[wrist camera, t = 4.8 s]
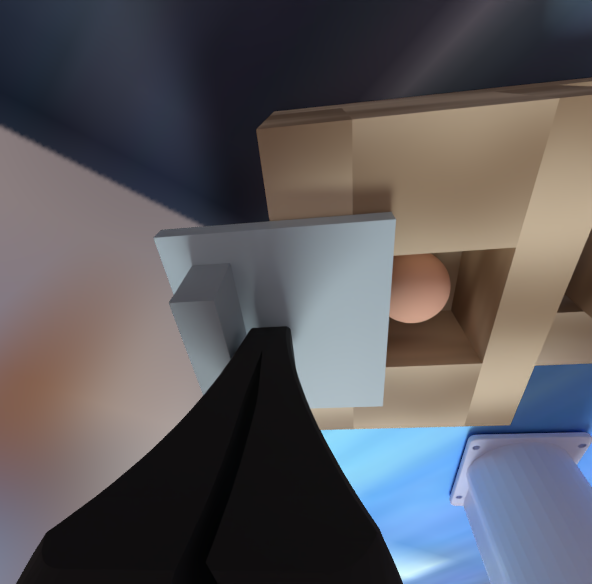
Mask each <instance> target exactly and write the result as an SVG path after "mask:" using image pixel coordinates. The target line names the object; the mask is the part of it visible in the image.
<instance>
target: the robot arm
mask: <svg viewBox="0 0 592 584" xmlns="http://www.w3.org/2000/svg"><path fill="white" fill-rule="evenodd" d="M591 442H592V437H591V436H590V434H589V433H586V432H571V433H526V434H480V435H472V436H470V437H469V439H468V441H467V444H466V448H465V451H464V454H463V457H462V460H461V464H460V467H459V470H458V473H457V476H456V479H455V483H454V486H453V489H452V492H451V495H450V503H451V504H452V505H454V506H464V509H465V512H466V515H467V517H468V520H469V523H470V526H471V529H472V532H473V534H474V537H475V540H476V543H477V546H478V549H479V552H480V554H481V557H482V560H483V563H484V566H485V569H486V571H487V574H488V577H489V580H490V583H491V584H592V487H591V485H590V484H589V483H588V481H587V480H586V478H585V477H584V475H583V474H582V472H581V471H580V469H579V468H578V466H577V464H578V462H579V461H580V459H581V458H582V456H583V455H584V453H585V451H586V450H587V448H588V447H589V445H590V444H591ZM16 584H403V583H402V580H401V577H400V575H399V572H398V570H397V568H396V565H395V563H394V561H393V558H392V556H391V554H390V552H389V550H388V547H387V545H386V543H385V541H384V539H383V536H382V534H381V531H380V529H379V528H378V526H377V524H376V523H375V522H374V520H373V519H372V517H371V516H370V514H369V513H368V511H367V510H366V508H365V507H364V505H363V504H362V502H361V500H360V499H359V497H358V496H357V494H356V493H355V491H354V489H353V488H352V486H351V485H350V483H349V481H348V480H347V478H346V476H345V475H344V473H343V471H342V470H341V468H340V466H339V464H338V462H337V461H336V459H335V457H334V455H333V453H332V452H331V450H330V448H329V446H328V444H327V443H326V441H325V439H324V437H323V435H322V433H321V431H320V429H319V427H318V424H317V422H316V420H315V418H314V416H313V414H312V411H311V409H310V407H309V404H308V402H307V399H306V397H305V394H304V391H303V389H302V386H301V383H300V380H299V377H298V374H297V370H296V364H295V357H294V350H293V342H292V335H291V329H290V328H289V327H287V326H280V327H260V328H252V329H251V330H250V331H249V332H248V334H247V335H246V337H245V339H244V340H243V342H242V343H241V345H240V346H239V348H238V349H237V351H236V352H235V354H234V355H233V357H232V358H231V360H230V361H229V362H228V364H227V365H226V367H225V368H224V369H223V371H222V372H221V374H220V375H219V376H218V378H217V379H216V380H215V381H214V383H213V384H212V385H211V386H210V388H209V389H208V390H207V391H206V393H205V394H204V395H203V397H202V398H201V399H200V400H199V401H198V402H197V404H196V405H195V406H194V407H193V408H192V409H191V411H189V413H188V414H187V415H186V416H185V417H184V418H183V419H182V420H181V421H180V422H179V423H178V425H176V426H175V427H174V429H172V430H171V431H170V432H169V433H168V434H167V435H166V436H165V437H164V438H163V440H161V441H160V442H159V443H158V444H157V445H156V446H155V447H154V448H153V449H152V450H151V451H150V452H149V453H147V454H146V455H145V456H144V457H143V458H142V459H141V460H140V461H139V462H137V463H136V464H135V465H134V466H132V467H131V468H130V469H129V470H128V471H127V472H125V473H124V474H123V475H122V476H121V477H119V478H118V479H117V480H116V481H115V482H114V483H112V484H111V485H110V486H109V487H107V488H106V489H105V490H103V491H102V492H101V493H100V494H98V495H97V496H96V497H95V498H93V499H92V500H90V501H89V502H88V503H86V504H85V505H84V506H83V507H81V508H80V509H78V510H77V511H75V512H74V513H73V514H72V515H70V516H69V517H67V518H66V519H65V520H63V521H62V522H61V523H59V524H58V525H57V526H55V527H54V528H52V529H51V530H49V531H48V532H47V533H46V534H45V536H44V537H43V539H42V540H41V542H40V544H39V545H38V547H37V549H36V550H35V552H34V553H33V555H32V557H31V558H30V560H29V562H28V564H27V565H26V567H25V569H24V571H23V572H22V574H21V576H20V578H19V579H18V581H17V583H16Z"/></svg>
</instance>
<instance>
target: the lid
mask: <svg viewBox="0 0 592 584" xmlns="http://www.w3.org/2000/svg"><path fill="white" fill-rule="evenodd" d="M395 226H396V218H395V217H394V215H393V213H392V212H382V213H369V214H357V215H344V216H331V217H319V218H306V219H293V220H281V221H268V222H255V223H243V224H230V225H217V226H205V227H192V228H180V229H167V230H161V231H160V232H159V233H158V234H157V235H156V236H155V237H154V241H155V244H156V246H157V249H158V252H159V255H160V258H161V260H162V263H163V266H164V268H165V271H166V274H167V277H168V280H169V283H170V286H171V288H172V291H173V294H174V296H173V297H172V299H171V300H170V302H169V305H170V307H171V310H172V313H173V316H174V318H175V321H176V324H177V326H178V329H179V332H180V334H181V337H182V339H183V342H184V345H185V348H186V350H187V353H188V356H189V358H190V361H191V364H192V366H193V369H194V372H195V374H196V377H197V380H198V382H199V385H200V388H201V390H202V393H203V395H204V394H205V393H206V391H207V390H208V389H209V388H210V386H211V385H212V384H213V383H214V381H215V380H216V379H217V378H218V376H219V375H220V374H221V372H222V371H223V369H224V368H225V367H226V365H227V364H228V362H229V361H230V360H231V358H232V357H233V355H234V354H235V352H236V351H237V349H238V348H239V346H240V345H241V343H242V342H243V340H244V339H245V337H246V335H247V334H248V332H249V331H250V330H251V329H252V328H260V327H280V326H287V327H289V328H290V329H291V335H292V342H293V350H294V357H295V364H296V370H297V374H298V377H299V380H300V383H301V386H302V389H303V391H304V394H305V397H306V399H307V402H308V404H309V407H310V408H343V407H377V406H383V396H384V382H385V368H386V354H387V340H388V326H389V311H390V297H391V283H392V269H393V255H394V241H395Z"/></svg>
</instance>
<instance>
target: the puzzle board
mask: <svg viewBox="0 0 592 584" xmlns="http://www.w3.org/2000/svg"><path fill="white" fill-rule="evenodd" d="M256 132H257V139H258V146H259V153H260V159H261V166H262V173H263V180H264V186H265V193H266V200H267V207H268V214H269V220H270V221H281V220H293V219H306V218H319V217H331V216H344V215H357V214H369V213H382V212H392V213H393V215H394V217H395V218H396V226H395V241H394V255H393V256H397V255H412V254H427V253H430V254H432V255H434V256H435V257H437V258H438V259H439V260H440V261H441V262H442V263H443V264H444V266H445V268H446V269H447V271H448V274H449V277H450V283H451V289H450V294H449V298H448V300H447V302H446V304H445V306H444V307H443V308H442V310H441V311H440V312H439V313H438V314H436V315H435V316H433V317H432V318H430V319H428V320H426V321H422V322H418V323H404V322H400V321H397V320H394V319H392V318H390V317H389V326H388V340H387V354H386V368H385V382H384V396H383V406H377V407H343V408H310V409H311V411H312V414H313V416H314V418H315V420H316V422H317V424H318V427H319V429H320V430H332V429H374V428H415V427H457V426H498V425H510V424H511V422H512V420H513V417H514V415H515V412H516V410H517V407H518V405H519V403H520V400H521V398H522V395H523V393H524V391H525V388H526V386H527V383H528V381H529V378H530V376H531V374H532V371H533V369H534V366H537V365H563V364H589V363H592V318H591V317H590V316H589V315H588V314H586V313H585V312H584V311H583V310H582V309H581V308H580V307H578V306H577V305H576V304H575V303H574V302H573V301H572V300H570V299H569V298H568V297H567V296H566V295H565V291H566V289H567V287H568V284H569V282H570V279H571V277H572V275H573V272H574V270H575V267H576V265H577V262H578V260H579V258H580V255H581V253H582V250H583V248H584V246H585V243H586V241H587V238H588V236H589V233H590V231H591V229H592V77H591V78H582V79H572V80H563V81H554V82H544V83H535V84H526V85H517V86H507V87H498V88H489V89H479V90H470V91H461V92H451V93H442V94H433V95H424V96H414V97H405V98H396V99H386V100H377V101H368V102H358V103H349V104H340V105H331V106H321V107H312V108H303V109H293V110H284V111H275V112H273V113H272V114H271V115H270V116H269V117H268V118H267V119H266V120H265V121H264V122H263V123H262V124H261V125H260V126H259V127H258V128H257V129H256Z"/></svg>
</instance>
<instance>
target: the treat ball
mask: <svg viewBox="0 0 592 584" xmlns="http://www.w3.org/2000/svg"><path fill="white" fill-rule="evenodd" d="M450 289H451V283H450V277H449V274H448V271H447V269H446V268H445V266H444V264H443V263H442V262H441V261H440V260H439V259H438V258H437V257H435V256H434V255H432V254H430V253H427V254H412V255H397V256H393V269H392V283H391V297H390V311H389V317H390V318H392V319H394V320H397V321H400V322H404V323H418V322H422V321H426V320H428V319H430V318H432V317H433V316H435V315H436V314H438V313H439V312H440V311H441V310H442V308H443V307H444V306H445V304H446V302H447V300H448V298H449V294H450Z"/></svg>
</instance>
